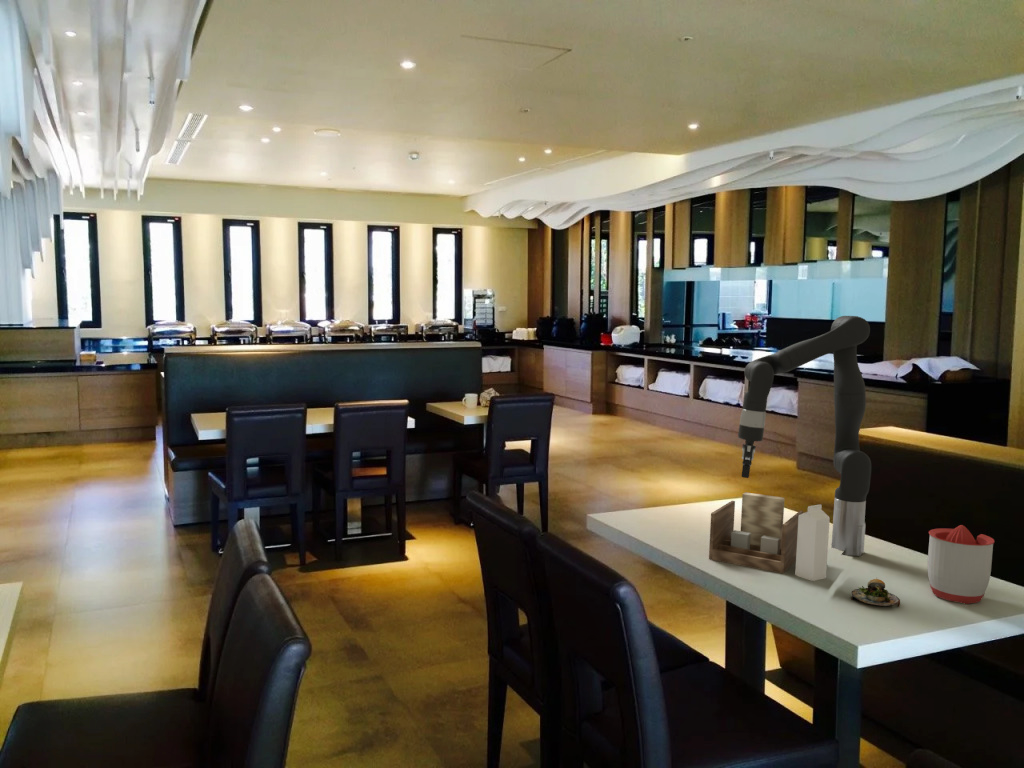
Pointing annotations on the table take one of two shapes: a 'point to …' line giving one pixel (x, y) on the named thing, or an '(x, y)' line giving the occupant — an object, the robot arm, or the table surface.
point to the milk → (812, 544)
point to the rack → (752, 558)
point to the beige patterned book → (762, 516)
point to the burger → (875, 594)
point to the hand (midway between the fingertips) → (745, 475)
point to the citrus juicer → (959, 564)
